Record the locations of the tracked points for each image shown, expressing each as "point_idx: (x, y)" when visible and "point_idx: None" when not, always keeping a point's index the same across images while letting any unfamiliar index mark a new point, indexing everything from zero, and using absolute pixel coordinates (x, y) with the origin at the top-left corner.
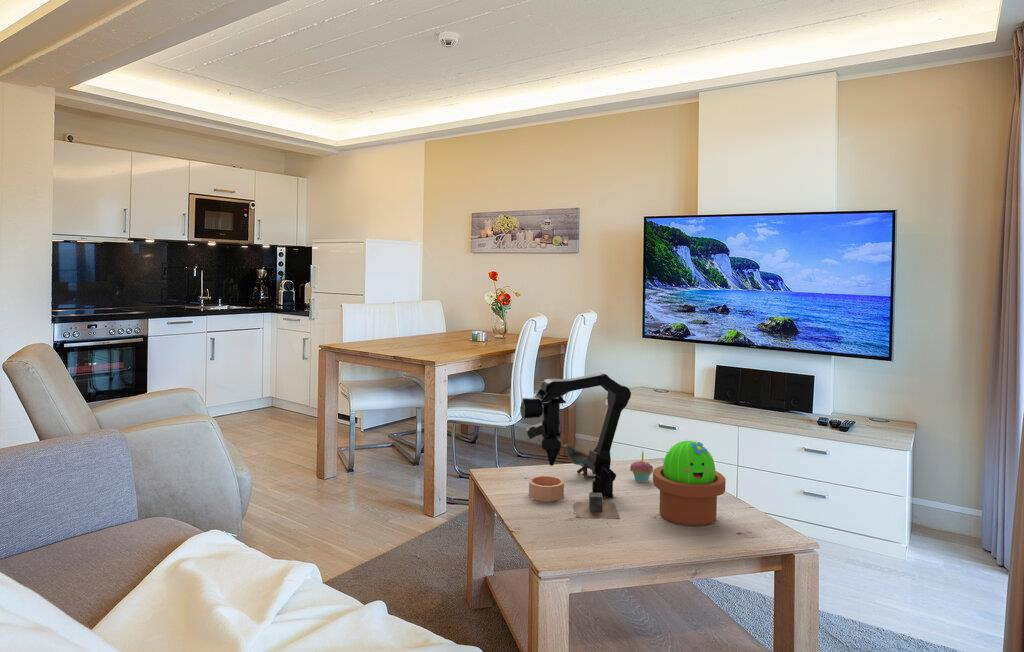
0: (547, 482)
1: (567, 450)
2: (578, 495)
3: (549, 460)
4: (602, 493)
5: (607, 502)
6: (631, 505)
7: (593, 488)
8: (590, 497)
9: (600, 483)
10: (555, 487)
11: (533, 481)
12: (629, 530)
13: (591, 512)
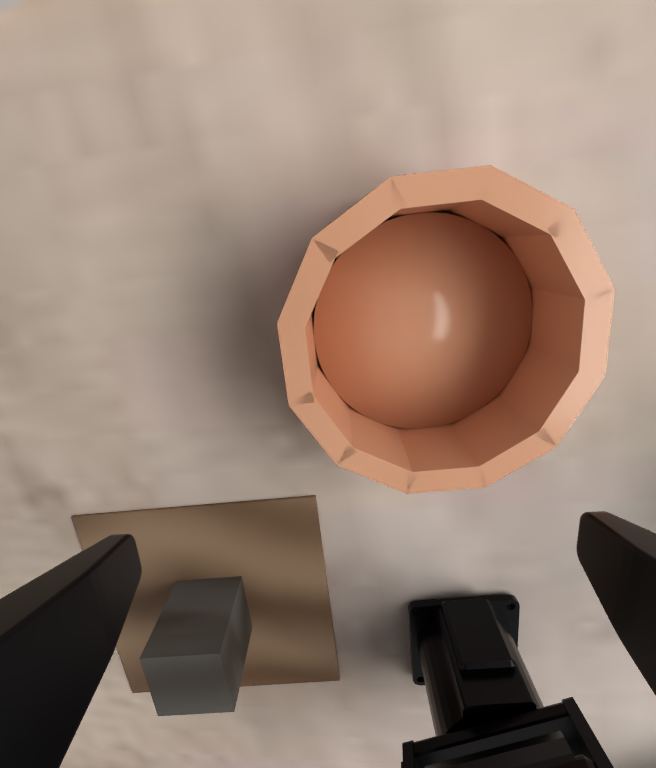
0: (552, 337)
1: None
2: (435, 520)
3: (15, 605)
4: (420, 652)
5: (334, 653)
6: (321, 734)
7: (449, 629)
8: (141, 655)
9: (439, 702)
10: (314, 431)
11: (496, 214)
12: None
13: (170, 587)
